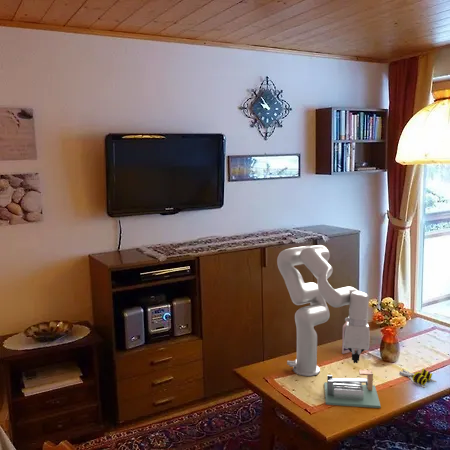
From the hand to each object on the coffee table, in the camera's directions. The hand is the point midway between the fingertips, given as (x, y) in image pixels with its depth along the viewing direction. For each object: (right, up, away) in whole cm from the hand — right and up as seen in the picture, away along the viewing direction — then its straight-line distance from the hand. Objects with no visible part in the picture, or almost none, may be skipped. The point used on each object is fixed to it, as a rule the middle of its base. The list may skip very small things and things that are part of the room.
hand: (355, 361), depth 214 cm
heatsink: (-4, -14, +2) cm, 15 cm away
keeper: (+6, -13, +7) cm, 16 cm away
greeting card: (+9, -8, +50) cm, 52 cm away
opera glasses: (+34, -13, +14) cm, 39 cm away
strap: (-3, -10, +1) cm, 10 cm away
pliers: (+32, -13, +17) cm, 39 cm away
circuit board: (-1, -15, +2) cm, 15 cm away
